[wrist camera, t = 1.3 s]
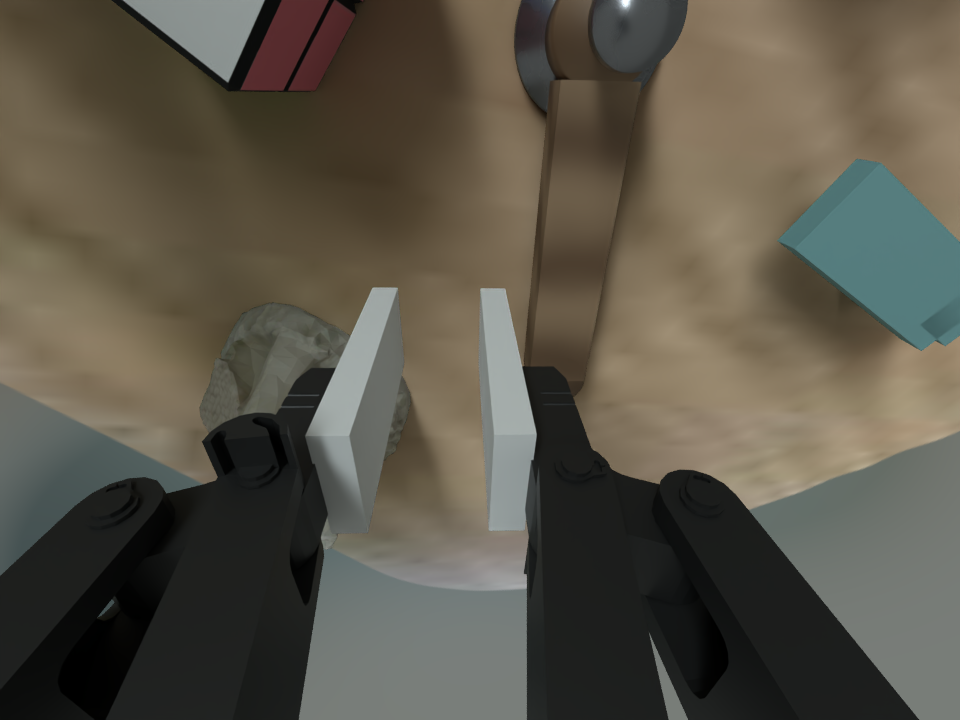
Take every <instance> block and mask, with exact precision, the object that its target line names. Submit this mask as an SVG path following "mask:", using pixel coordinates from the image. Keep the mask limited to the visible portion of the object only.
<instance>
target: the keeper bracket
mask: <svg viewBox="0 0 960 720" xmlns="http://www.w3.org/2000/svg"><path fill="white" fill-rule="evenodd" d="M777 241H778V242H779V243H781V244H782V245H783V246H784V247H786V248H787V249H788V250H790V251H791V252H792V253H793V254H795V255H796V256H797V257H798V258H800V259H801V260H802V261H803V262H805V263H806V264H807V265H808V266H810V267H811V268H812V269H813V270H815V271H816V272H817V273H818V274H820V275H821V276H822V277H823V278H825V279H826V280H827V281H828V282H830V283H831V284H832V285H833V286H835V287H836V288H837V289H838V290H840V291H841V292H842V293H843V294H845V295H846V296H847V297H848V298H850V299H851V300H852V301H853V302H855V303H856V304H857V305H858V306H860V307H861V308H862V309H863V310H865V311H866V312H867V313H868V314H870V315H871V316H872V317H873V318H875V319H876V320H877V321H879V322H880V323H881V324H882V325H884V326H885V327H886V328H887V329H889V330H890V331H891V332H892V333H894V334H895V335H896V336H897V337H899V338H900V339H901V340H903V341H905V342H906V343H908V344H910V345H912V346H914V347H915V348H917V349H919V350H921V351H922V350H923V349H925V348H926V347H927V346H929V345H930V344H931V343H933V342H934V341H937V342H939V343H940V344H942V345H944V346H946V345H947V344H949V343H950V342H952V341H953V340H954V339H956V338H957V337H958V336H960V242H959V241H958V240H957V239H956V238H955V237H954V236H953V235H952V234H951V233H950V232H949V231H948V230H947V229H946V228H945V227H944V226H943V225H942V224H941V223H940V222H939V221H938V220H937V219H936V218H935V217H934V216H933V215H932V214H931V213H930V212H929V211H928V210H927V209H926V208H925V207H924V206H923V205H922V204H921V203H920V202H919V201H918V200H917V199H916V198H915V197H914V196H913V195H912V194H911V193H910V192H909V191H908V190H907V189H906V188H905V187H904V186H903V185H902V184H901V183H900V182H899V181H898V179H897V178H896V177H895V176H894V175H893V174H892V173H891V172H890V171H889V170H888V169H887V168H886V167H885V166H884V165H883V164H882V163H879V162H873V161H867V160H861V159H856V160H855V161H854V162H853V163H852V164H851V165H850V166H849V167H848V168H847V170H846V171H845V172H844V173H843V174H842V175H841V176H840V177H839V178H838V179H837V180H836V181H835V182H834V183H833V184H832V185H831V186H830V187H829V188H828V189H827V190H826V191H825V192H824V193H823V194H822V195H821V196H820V197H819V198H818V199H817V200H816V201H815V202H814V203H813V204H812V205H811V206H810V207H809V209H808V210H807V211H806V212H805V213H804V214H803V215H802V216H801V217H800V218H799V219H798V220H797V221H796V222H795V223H794V224H793V225H792V226H791V227H790V228H789V229H788V230H787V231H786V232H785V233H784V234H783V235H782V236H781V237H780V238H779V239H778V240H777Z"/></svg>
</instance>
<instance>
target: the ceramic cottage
mask: <svg viewBox="0 0 960 720" xmlns="http://www.w3.org/2000/svg"><path fill="white" fill-rule="evenodd" d="M349 339H350V335H348V334H346V333H345V332H343V331H342V330H340V329H339V328H337V327H335V326H333V325H330V324H328V323H326V322H324V321H323V320H321V319H319V318H318V317H316V316H314V315H312V314H309V313H308V312H306V311H304V310H302V309H301V308H298V307H295V306H292V305H286V304H277V303H272V304H270V303H268V304H265V305H262V306H258V307H254V308H252V309H251V310H249V312H245V313H243V314H242V316H241V317H240V319H239V320H238V322H237V323H236V324H235V326H234V328H233V329H232V332H231V334H230V336H229V337H228V340H227V342H226V344H225V346H224V347H223V349H222V351H221V356H222V358H221V359H219V358H216V360H215V363H214V365H215V368H214V370H213V372H212V376H211V381H210V384H209V387H208V388H207V390H206V392H205V395H204V397H203V400H202V403H201V405H200V415H201V418H202V420H203V424H204V425H205V426H206V428H207V430H208V432H209V433H210V432H211V431H212V430H213V429H215V428H216V427H218V426H219V425H221V424H222V423H224V422H226V421H228V420H230V419H233V418H235V417H238V416H240V415H245V414H251V413H256V412H259V413H272V414H275V415H276V413H277V412H278V410H279V408H281V405H282V403H283V401H284V399H285V398H286V396H288V392H289V391H290V389H291V387H292V385H293V384H294V382H295V380H296V379H297V378H299V377H300V376H301V375H303V374H304V373H305V372H306V371H308V370H309V369H310V368H336V367H337V365H338V363H339V361H340V358H341V356H342V354H343V352H344V350H345V347H346V345H347V343H348V341H349ZM410 403H411V401H410V392H409V389H408V387H407V385H406V382H405V380H404V378H403V376H401V380H400V385H399V390H398V395H397V399H396V404H395V409H394V413H393V418H392V423H391V427H390V432H389V437H388V442H387V446H386V451H385V456H384V460H386V458H387V457H388V456H389V455H390V454H393V453H394V452H395V451H396V447H397V442H398V441H399V440H400V437H401V434H400V433H401V431H402V429H403V426H404V424H405V423H406V420H407V415H408V411H409V407H410ZM384 460H383V461H384ZM337 536H338V534H331V531H330V527H329V523H328V519H326V522H325V526H324V529H323V532H322V535H321V540H322V544H323V548H324V549H329V548H332V546H333V544H334V542H335V540H336V538H337Z"/></svg>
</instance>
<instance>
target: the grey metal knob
mask: <svg viewBox="0 0 960 720" xmlns="http://www.w3.org/2000/svg"><path fill="white" fill-rule="evenodd" d="M555 1H556V0H522V1H521V4H520V7H519V10H518V14H517V19H516V24H515V33H514V51H515V60H516V64H517V69H518V72H519V75H520V78H521V81H522V83H523V85H524V87H525V89H526V91H527V92H528V94H529V96H530V97H531V98H532V100H533V101H534V102H535V103H536V104H537V105H538V106H539V107H540V108H541V109H542V110H543V111H545V112H546V113H547V108H548V98H549V87H550V81H553V80H558V79H557V78H556V77H555V75H554V74H553V72H552V70H551V68H550V66H549V64H548V60H547V57H546V52H545V30H546V24H547V20H548V17H549V14H550V11H551V9H552V7H553V5H554V3H555ZM687 5H688V0H592V3H591V7H590V10H589V16H588V37H589V42H590V46H591V48H592V51H593V53H594V55H595V57H596V58H597V59H598V61H599V62H600V63H601V64H602V65H603V66H604V67H606V68H607V69H609V70H611V71H613V72H617V73H623V74H624V73H636V72H641V71H642V72H641V73H640V75H639V76H638V77H636V78H635V79H634V80H633V81H632V82H642V83H641V88H640V91H641V90H642V89H643V87H644V86H645V85H646V83H647V82H648V80H649V78H650V77H651V75H652V73H653V71H654V69H655V67H656V65H657V63H658V62H660V61H661V60H662V59H663V58H664V57H665V56H666V55H667V54H668V53H669V52H670V50H671V49H672V48H673V46H674V45H675V43H676V41H677V40H678V38H679V36H680V34H681V31H682V28H683V26H684V22H685V19H686V14H687Z"/></svg>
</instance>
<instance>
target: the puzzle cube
mask: <svg viewBox="0 0 960 720" xmlns="http://www.w3.org/2000/svg"><path fill="white" fill-rule="evenodd" d="M112 1H113V2H114V3H116V4H117V5H118V6H119V7H121V8H122V9H123V10H125V11H126V12H127V13H128V14H130V15H131V16H132V17H134V18H135V19H136V20H137V21H139V22H140V23H141V24H143V25H144V26H145V27H146V28H148V29H149V30H150V31H152V32H153V33H154V34H155V35H157V36H158V37H159V38H161V39H162V40H163V41H164V42H166V43H167V44H168V45H170V46H171V47H172V48H174V49H175V50H176V51H177V52H179V53H180V54H181V55H183V56H184V57H185V58H186V59H188V60H189V61H190V62H192V63H193V64H194V65H195V66H197V67H198V68H199V69H201V70H202V71H203V72H204V73H206V74H207V75H208V76H210V77H211V78H212V79H213V80H215V81H216V82H217V83H219V84H220V85H221V86H222V87H224V88H225V89H226V90H228V91H254V92H275V91H278V92H310V91H315V90H316V89H317V87H318V85H319V83H320V81H321V79H322V77H323V75H324V74H325V72H326V70H327V68H328V66H329V64H330V62H331V61H332V59H333V57H334V55H335V53H336V51H337V49H338V47H339V46H340V44H341V42H342V40H343V38H344V36H345V34H346V33H347V31H348V29H349V27H350V25H351V23H352V21H353V19H354V18H355V16H356V11H355V6H354V3H360V2H363V1H364V0H112Z"/></svg>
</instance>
